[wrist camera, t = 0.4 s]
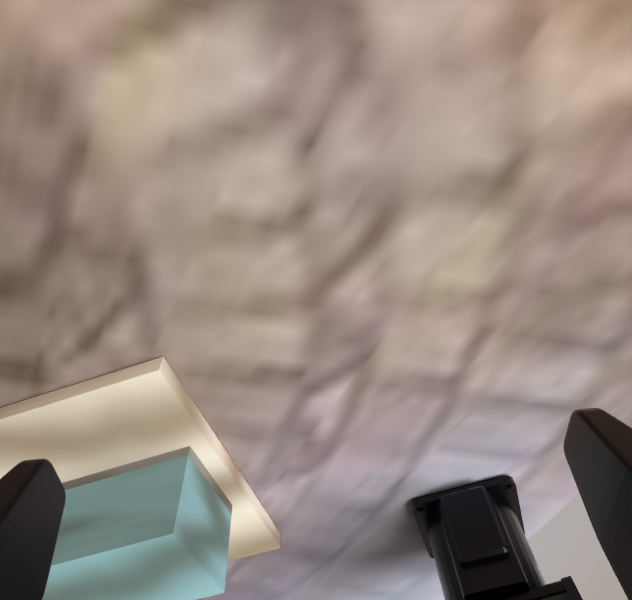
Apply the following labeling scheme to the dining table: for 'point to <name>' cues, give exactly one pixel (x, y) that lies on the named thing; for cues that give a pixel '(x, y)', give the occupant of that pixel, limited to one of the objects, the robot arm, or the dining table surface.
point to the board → (130, 439)
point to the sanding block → (143, 533)
